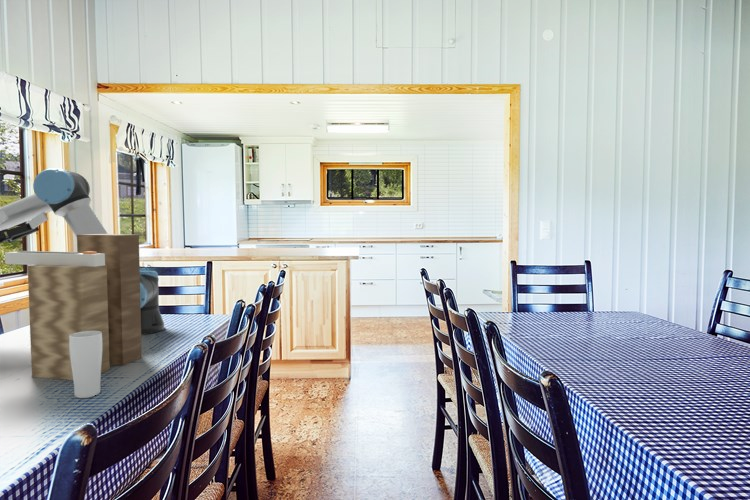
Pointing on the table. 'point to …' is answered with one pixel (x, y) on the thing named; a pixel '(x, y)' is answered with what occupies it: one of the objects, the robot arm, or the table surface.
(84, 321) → the stepped stand
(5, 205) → the robot arm
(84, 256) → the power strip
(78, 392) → the drinking glass
